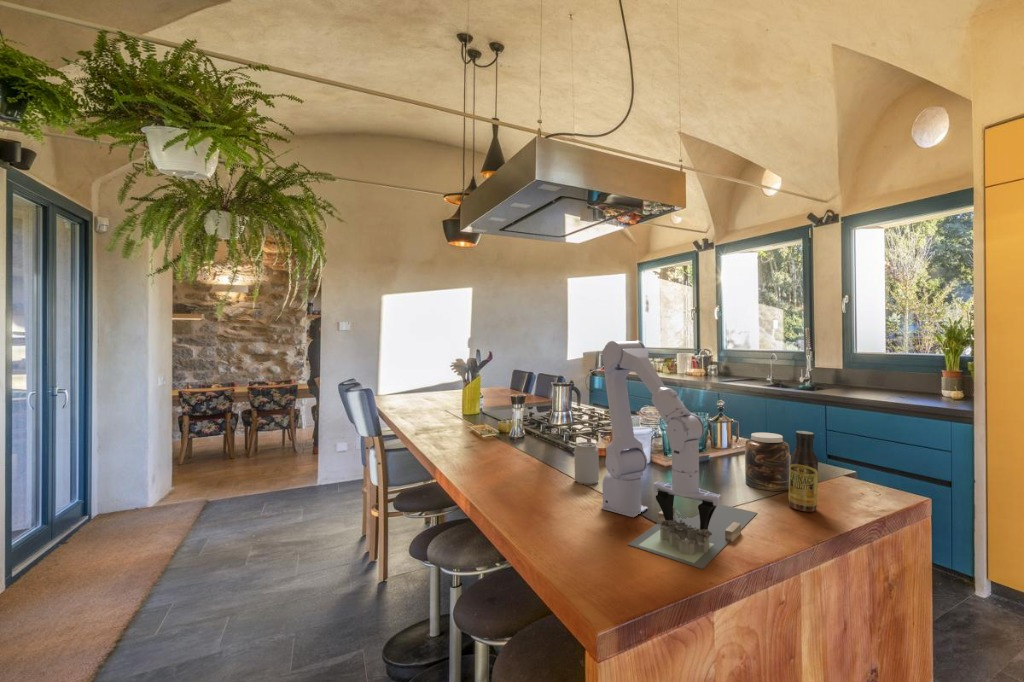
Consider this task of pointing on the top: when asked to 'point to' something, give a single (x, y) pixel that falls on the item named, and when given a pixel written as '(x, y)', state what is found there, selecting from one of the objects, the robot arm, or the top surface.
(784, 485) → the jar
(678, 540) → the egg carton
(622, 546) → the top surface
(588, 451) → the can
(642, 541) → the lane mat
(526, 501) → the top surface
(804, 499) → the sauce bottle
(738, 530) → the lane walls
